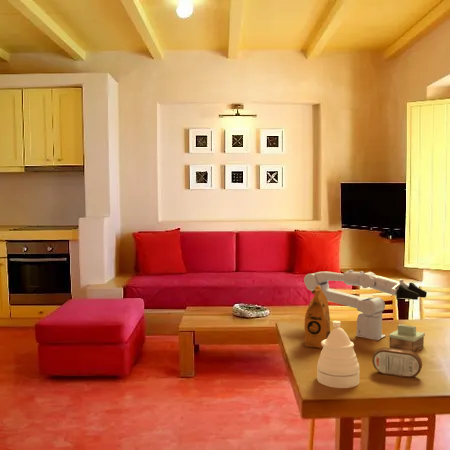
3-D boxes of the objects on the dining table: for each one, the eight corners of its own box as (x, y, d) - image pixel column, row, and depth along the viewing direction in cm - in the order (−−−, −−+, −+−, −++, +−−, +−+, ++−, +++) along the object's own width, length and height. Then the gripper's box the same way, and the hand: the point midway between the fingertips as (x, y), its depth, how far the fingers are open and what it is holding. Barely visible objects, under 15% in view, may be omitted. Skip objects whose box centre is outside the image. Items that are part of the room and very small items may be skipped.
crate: (389, 348, 189) (389, 337, 189) (400, 342, 196) (400, 332, 196) (413, 352, 183) (413, 342, 183) (423, 346, 190) (423, 336, 190)
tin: (422, 377, 159) (422, 351, 158) (421, 380, 156) (421, 353, 155) (373, 370, 165) (373, 345, 165) (371, 373, 162) (371, 347, 162)
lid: (388, 339, 189) (388, 326, 188) (399, 333, 197) (400, 321, 196) (414, 344, 182) (414, 330, 182) (424, 337, 190) (424, 325, 190)
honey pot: (312, 373, 162) (312, 318, 161) (351, 372, 163) (352, 317, 162) (323, 388, 150) (323, 329, 149) (365, 387, 150) (365, 328, 149)
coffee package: (300, 347, 191) (300, 289, 190) (308, 338, 202) (308, 284, 201) (326, 350, 187) (326, 291, 186) (332, 341, 198) (333, 285, 197)
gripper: (381, 277, 192) (416, 287, 183) (398, 274, 203) (431, 284, 194) (378, 295, 193) (412, 306, 184) (395, 291, 204) (428, 301, 195)
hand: (422, 295), depth 189 cm, fingers open, 7 cm apart
